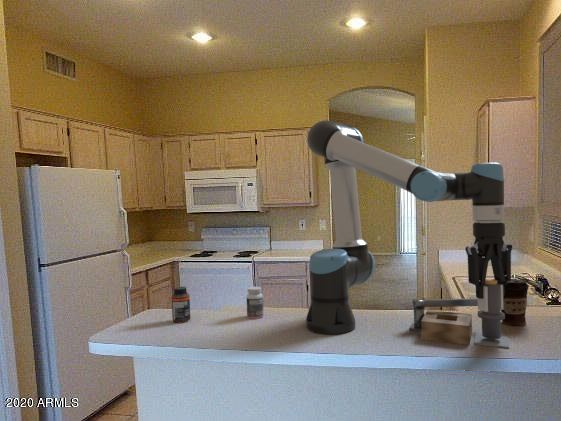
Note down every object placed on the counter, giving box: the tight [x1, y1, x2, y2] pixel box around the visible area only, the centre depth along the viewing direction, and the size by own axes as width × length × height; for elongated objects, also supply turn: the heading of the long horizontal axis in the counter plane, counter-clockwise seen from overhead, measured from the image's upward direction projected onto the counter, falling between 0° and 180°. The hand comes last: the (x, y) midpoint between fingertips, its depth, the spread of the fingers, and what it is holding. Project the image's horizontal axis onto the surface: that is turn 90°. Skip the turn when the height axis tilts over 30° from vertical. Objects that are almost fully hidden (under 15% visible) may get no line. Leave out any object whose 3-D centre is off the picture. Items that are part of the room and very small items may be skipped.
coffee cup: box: [500, 278, 530, 326], centre depth 121 cm, size 9×8×13 cm
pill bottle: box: [246, 286, 265, 320], centre depth 138 cm, size 6×6×10 cm
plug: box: [477, 278, 505, 339], centre depth 107 cm, size 6×6×15 cm
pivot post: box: [408, 307, 425, 332], centre depth 119 cm, size 5×5×6 cm
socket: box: [420, 309, 473, 346], centre depth 113 cm, size 12×12×5 cm
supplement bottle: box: [171, 286, 191, 323], centre depth 135 cm, size 6×6×11 cm
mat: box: [473, 333, 510, 349], centre depth 107 cm, size 8×8×1 cm
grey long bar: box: [411, 297, 478, 309], centre depth 119 cm, size 20×4×2 cm, turn 87°
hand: (490, 309), depth 107 cm, fingers closed on plug, 4 cm apart
